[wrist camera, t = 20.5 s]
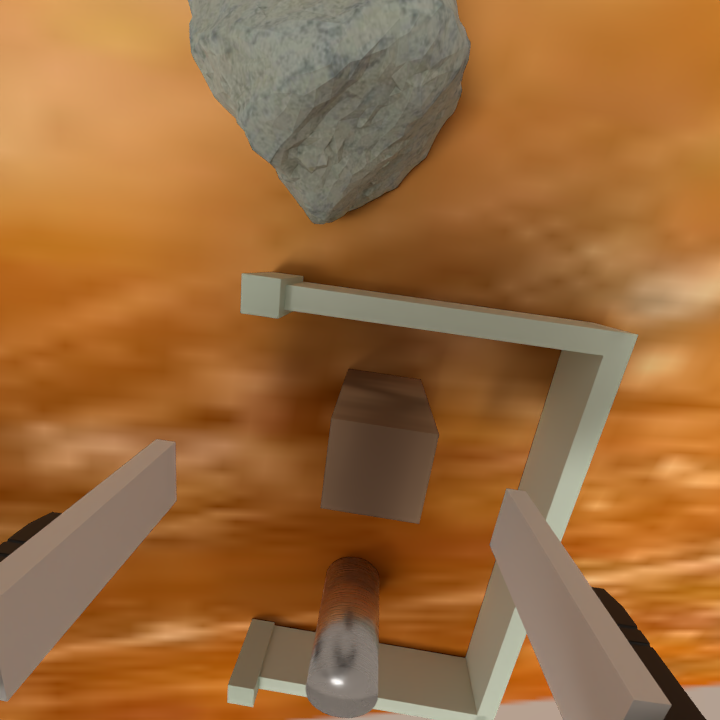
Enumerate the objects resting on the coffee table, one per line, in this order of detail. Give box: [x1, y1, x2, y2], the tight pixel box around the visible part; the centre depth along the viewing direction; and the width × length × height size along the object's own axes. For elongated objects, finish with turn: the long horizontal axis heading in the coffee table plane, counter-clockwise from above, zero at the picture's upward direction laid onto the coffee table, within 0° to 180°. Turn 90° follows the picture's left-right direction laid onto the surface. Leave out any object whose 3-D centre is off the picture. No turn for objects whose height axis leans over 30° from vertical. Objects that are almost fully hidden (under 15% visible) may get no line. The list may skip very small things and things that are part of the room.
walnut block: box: [321, 369, 439, 524], centre depth 18 cm, size 4×4×7 cm
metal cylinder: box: [306, 557, 379, 718], centre depth 22 cm, size 4×4×7 cm
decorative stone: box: [188, 0, 470, 224], centre depth 14 cm, size 13×11×10 cm
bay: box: [227, 272, 638, 720], centre depth 21 cm, size 18×29×4 cm, turn 172°
